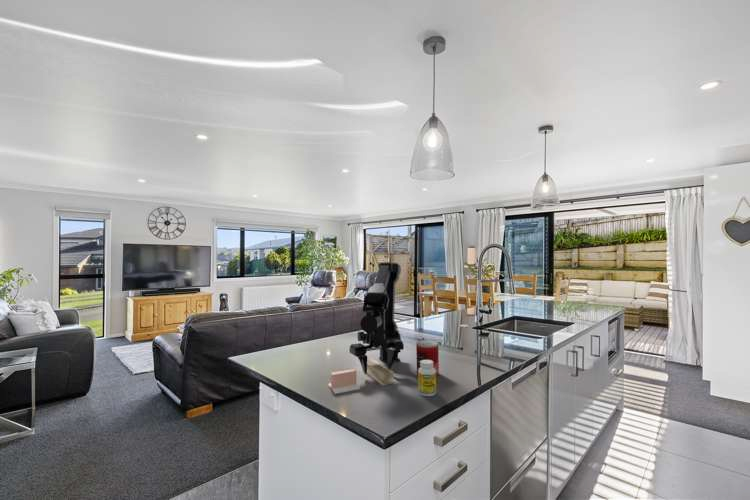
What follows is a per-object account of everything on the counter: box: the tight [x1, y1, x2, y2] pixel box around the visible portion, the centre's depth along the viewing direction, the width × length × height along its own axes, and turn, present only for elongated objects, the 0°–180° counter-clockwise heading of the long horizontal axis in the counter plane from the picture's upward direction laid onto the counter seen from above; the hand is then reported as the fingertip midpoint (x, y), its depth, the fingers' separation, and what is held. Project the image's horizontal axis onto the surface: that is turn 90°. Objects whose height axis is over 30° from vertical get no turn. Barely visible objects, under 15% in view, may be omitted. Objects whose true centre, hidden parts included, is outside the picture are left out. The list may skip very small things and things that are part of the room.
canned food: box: [415, 339, 440, 377], centre depth 119 cm, size 8×8×11 cm
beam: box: [366, 358, 394, 386], centre depth 117 cm, size 4×16×4 cm, turn 26°
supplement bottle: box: [417, 360, 437, 397], centre depth 102 cm, size 5×5×10 cm
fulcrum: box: [327, 368, 361, 395], centre depth 108 cm, size 8×7×5 cm
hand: (377, 371), depth 117 cm, fingers open, 9 cm apart
